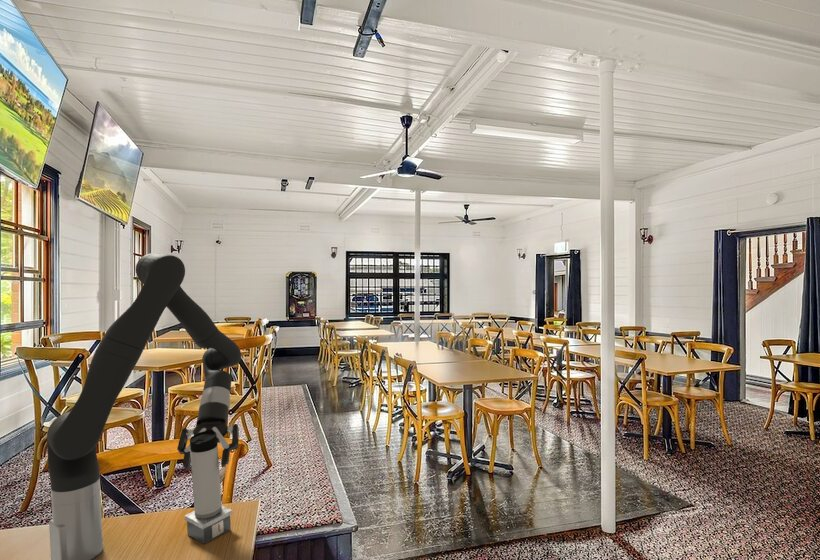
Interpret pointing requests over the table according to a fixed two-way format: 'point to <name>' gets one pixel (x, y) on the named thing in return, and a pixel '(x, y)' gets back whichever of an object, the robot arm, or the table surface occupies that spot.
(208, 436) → the travel mug
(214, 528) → the lidded box with label
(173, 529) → the table surface
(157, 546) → the table surface
